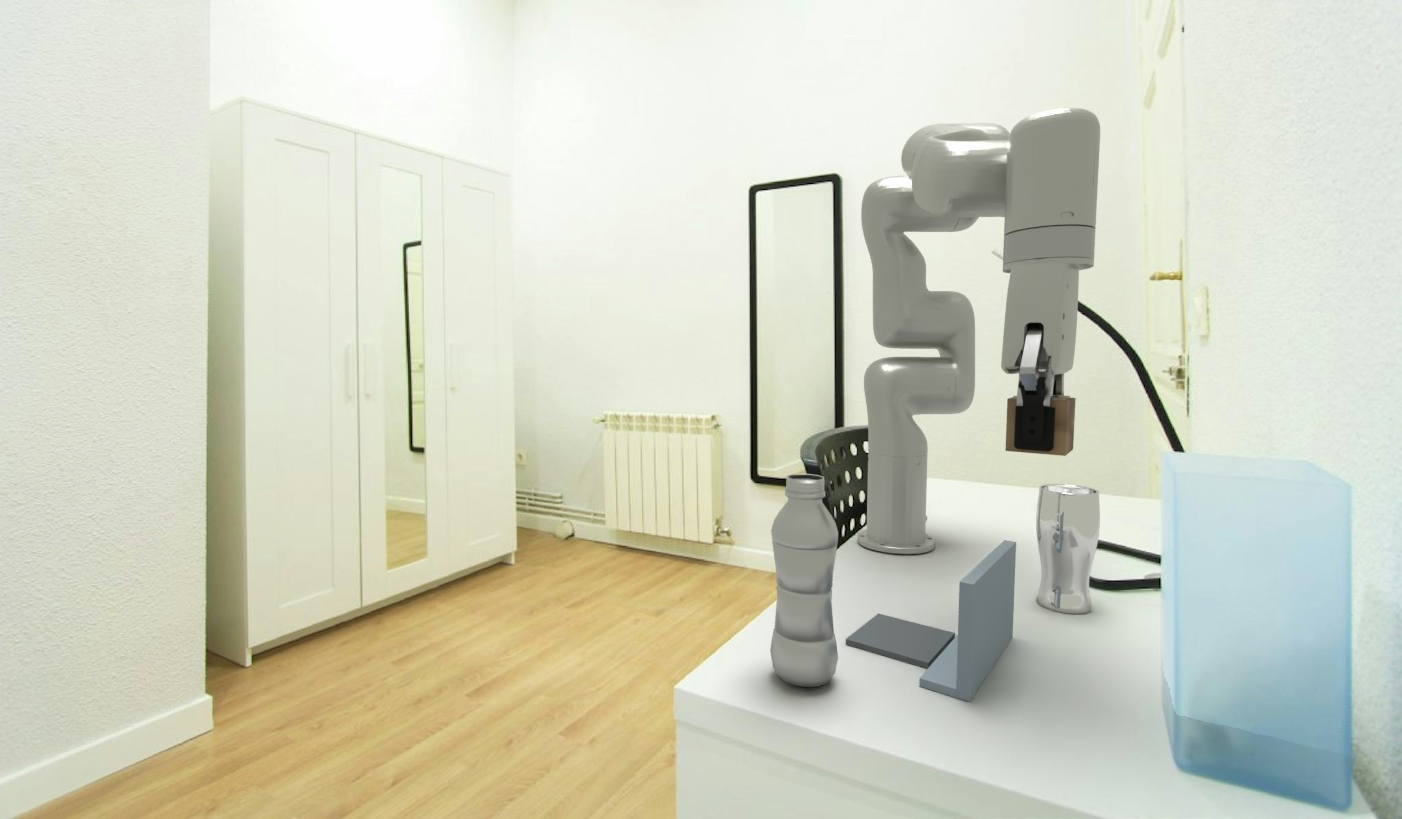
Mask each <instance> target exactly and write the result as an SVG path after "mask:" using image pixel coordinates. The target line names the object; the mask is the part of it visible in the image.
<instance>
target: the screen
mask: <svg viewBox="0 0 1402 819" xmlns="http://www.w3.org/2000/svg"><path fill="white" fill-rule="evenodd" d="M1016 552H1017V542H1016V541H1013V540H1003V541H1002V542H1001V543H999V545H997V546H996V547H995V548H994V549H993V550H992V551H991V552H990V553H988V555H987V556H986V557H984V558H983V559H982V560H981V561H980V562H979V563H978V564H977V565H976V566H975V567H974V568H972V570H970V571H969V572H968V573H967V574H966V575H965V576H964V577H962V579H961V580H960V581H959V587H958V588H959V589H958V590H959V591H958V618H957V619H958V620H957V621H958V622H957V635H955V638H954V639H953V641H952V642H951V643H950V644H949V645H948V646H947V647H946V649H945V650H944V651H943V652H942V653H941V654H940V655H939V656H938V658H937V659H936V660H935V661H934V662H933V663H932V664H931V666H930V667H929V668H926V670H925V671H924V672H923V674H921V676H920V677H919V683H918V685H919V687H921V688H924V689H927V690H931V691H933V692H937V693H939V694H944V695H947V696H950V697H952V698H956V699H959V700H963V701H966V702H968V703H969V702H971V700H972V699H973V697H974V696H975V695H976V693H977V692H978V690H979V688H980V687H981V686H982V684H983V683H984V681H985V680H986V678H987V676H988V675H989V674H990V673H991V671H992V669H993V668H994V667H995V665H996V664H997V662H998V660H999V659H1000V658H1001V656H1002V654H1003V653H1004V651H1005V650H1006V649H1007V647H1008V646H1009V644H1010V642H1011V641H1012V640H1013V638H1014V634H1013V633H1014V611H1015V610H1014V605H1015V584H1016V581H1015V580H1016V559H1017V558H1016V555H1017V553H1016Z"/></svg>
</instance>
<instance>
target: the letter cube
mask: <svg viewBox="0 0 1402 819" xmlns="http://www.w3.org/2000/svg"><path fill="white" fill-rule="evenodd" d="M1076 399H1077V398H1076V397H1071V395H1064V396H1062V395H1053V397H1052V406H1051V407H1053V408H1055V428H1054V448H1053V450H1051V451H1049V452H1047V451H1034V450H1021V449H1016V448H1015V446H1014V435H1015V410H1016V406H1017V395H1013V396H1012V397H1009V398H1007V402H1006V428H1005V429H1006V430H1005V451H1006V452H1014V453H1027V454H1037V455H1038V454H1039V455H1049V456H1050V455H1052V456H1062V457H1066V456H1067V455H1068V454H1070V453H1071V452H1072V451H1073V450H1074V443H1075V442H1074V440H1075V438H1074V437H1075V420H1076V419H1075V417H1076Z"/></svg>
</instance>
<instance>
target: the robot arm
mask: <svg viewBox="0 0 1402 819" xmlns="http://www.w3.org/2000/svg"><path fill="white" fill-rule="evenodd" d="M1100 145H1101V124H1100V121H1099V117H1097V115H1096V114H1095V113H1093V112H1092V111H1091V110H1088V109H1084V108H1079V107H1077V108H1076V107H1065V108H1055V109H1049V110H1043V111H1040V112H1037V113H1034V114H1031V115H1029V116H1027V117H1024V118H1023V119H1021V120H1020V121H1018V122H1017V123H1016V124H1015V125H1014V126H1013V127H1012V129H1011V131H1010V132H1009V130H1008V129H1007V128H1006V127H1004V126H1002V125H1000V124H997V123H989V122H988V123H985V122H984V123H933V124H930V125H926V126H924V127H921V128H920V129H918V130H916V131H915V132H914V133H913V134H911V136H910V137H909V138H908V139H907V140H906V141H905V144H904V146H903V148H902V151H901V155H900V157H901V158H900V162H901V166H902V170H903V172H904V174H905V175H896V176H895V175H894V176H888V177H882V178H880V179H877V180H875V181H873V182H871V183H870V184H869V185H868V186H867V187H866V189H865V191H864V193H863V196H862V201H861V207H860V208H861V210H860V211H861V215H860V216H861V218H860V219H861V228H862V229H861V230H862V234H863V237H864V241H865V244H866V248H867V251H868V254H869V256H870V261H871V262H870V263H871V269H872V327H873V328H872V329H873V336H874V339H875V341H876V342H877V344H878V345H880V346H881V347H883V348H888V349H903V350H904V349H911V350H915V349H918V350H920V349H921V350H927V349H928V350H929V349H930V350H937V351H938V353H939V356H889V357H884V358H879V359H876V360H874V361H873V362H871V363H870V364H869V365H868V367H867V368H866V370H865V372H864V376H863V390H864V391H863V392H864V398H865V405H866V413H867V427H868V428H867V430H868V433H867V434H868V435H867V438H868V439H867V442H868V443H867V444H868V445H867V447H868V448H867V449H868V450H867V451H868V452H867V453H868V455H867V496H866V498H867V500H866V502H867V503H866V507H867V508H866V510H867V511H866V529H864V530H861V531H860V532H858V533H857V535H856V537H857V538H856V540H857V543H858V544H859V545H860V546H862V547H864V548H866V549H869V550H873V551H876V552H880V553H887V554H896V555H897V554H898V555H917V554H918V555H919V554H924V553H929V552H931V551H933V550H934V549H935V547H936V540H935V539H934V538H933V536H931V535H929V534H927V533H926V527H927V526H926V525H927V524H926V523H927V521H928V516H927V485H928V484H927V481H928V454H929V453H928V448H929V446H928V440H927V437H926V434H925V433H924V431H923V430H922V429H921V427H920V426H919V425H918V424H917V423H916V421H915V419H914V418H913V416H916V415H919V416H920V415H956V414H960V413H963V412H966V411H967V410H968V409H969V408H970V407H971V405H972V403H973V400H974V397H975V396H974V395H975V389H976V320H975V319H976V317H975V312H974V307H973V305H972V303H971V301H970V300H969V298H968V297H967V296H966V295H965V294H963V293H961V292H958V291H952V290H929V289H928V287H927V263H926V259H925V257H924V255H923V253H922V252H921V251H920V250H919V248H918V247H917V245H916V244H915V242H913V240H911V239H910V238H909V237H908V236H907V234H905V233H908V232H909V233H910V232H911V233H954V232H955V233H956V232H961V231H962V232H963V231H965V230H967V229H970V227H973V225H974V224H975V223H976V222H977V221H978V219H979V218H998V217H999V218H1004V223H1003V224H1004V226H1003V227H1004V228H1003V254H1002V255H1003V256H1002V273H1005V274H1010V275H1009V278H1008V279H1009V280H1008V286H1007V293H1006V303H1005V314H1004V324H1003V335H1002V336H1003V337H1002V349H1001V350H1002V352H1001V363H1000V364H1001V365H1000V367H1001V370H1002V371H1003V372H1004V373H1005V374H1007V375H1014V374H1015V375H1016V374H1018V383H1017V384H1018V385H1017V393H1016V396H1017V406H1016V410H1015V435H1014V446H1015V448H1016V449H1021V450H1034V451H1047V452H1049V451H1051V450H1053V448H1054V428H1055V408H1053V407H1051V406H1052V397H1053V395H1062V396H1065V374H1066V373H1068V372H1070V371H1071V370H1073V365H1074V360H1075V350H1076V341H1077V340H1076V339H1077V326H1078V312H1079V311H1078V309H1079V307H1078V306H1079V305H1078V304H1079V283H1080V282H1079V280H1080V271H1083V270H1089V269H1091V268H1093V267H1094V266H1095V249H1096V248H1095V246H1096V245H1095V244H1096V229H1097V226H1096V224H1097V210H1098V209H1097V205H1098V188H1099V187H1098V184H1099V166H1100V165H1099V164H1100Z"/></svg>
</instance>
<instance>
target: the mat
mask: <svg viewBox="0 0 1402 819" xmlns="http://www.w3.org/2000/svg"><path fill="white" fill-rule="evenodd" d="M955 637H956V632H953V631H949V630H945V629H942V628H938V627H933V626H930V625H925V624H922V623H918V622H914V621H911V620H910V621H909V620H906V619H902V618H897V617H894V616H889V615H886V614H882V613H877V614H876V615H874V616H873V617H871V619H869V620H868V621H867V622H865V623H864V624H863V625H861V626H860V627H859V628H857V629H856V631H854V632H852V633H851V635H849V636H847V637H846V638H845V645H846V646H850V647H854V648H856V649H860V650H863V651H867V652H871V653H875V654H876V655H881V656H884V657H887V658H890V659H894V660H897V661H900V662H905V663H908V664H911V665H915V666H918V667H922V668H925V669H928V668H929V667H930V666H931V664H932V663H933V662H934V661H935V660H936V659H937V658H938V656H939V655H940V654H941V653H942V652H943V651H944V650H945V649H946V647H947V646H948V645H949V644H950V643H951V642H952V641H953V639H954V638H955Z"/></svg>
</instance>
